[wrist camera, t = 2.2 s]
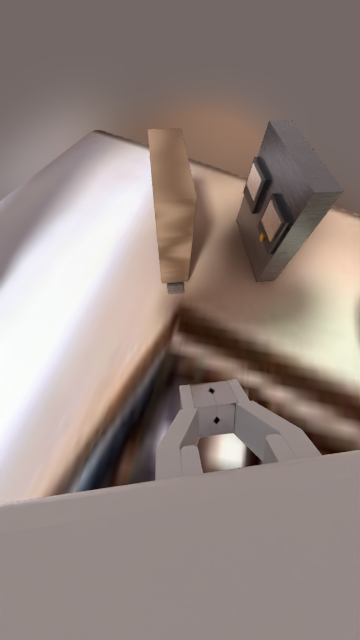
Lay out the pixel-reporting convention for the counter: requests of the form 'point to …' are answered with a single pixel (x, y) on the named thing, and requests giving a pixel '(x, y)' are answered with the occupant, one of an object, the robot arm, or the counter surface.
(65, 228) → the counter surface
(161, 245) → the brown flat angular block
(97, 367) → the counter surface
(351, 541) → the robot arm
